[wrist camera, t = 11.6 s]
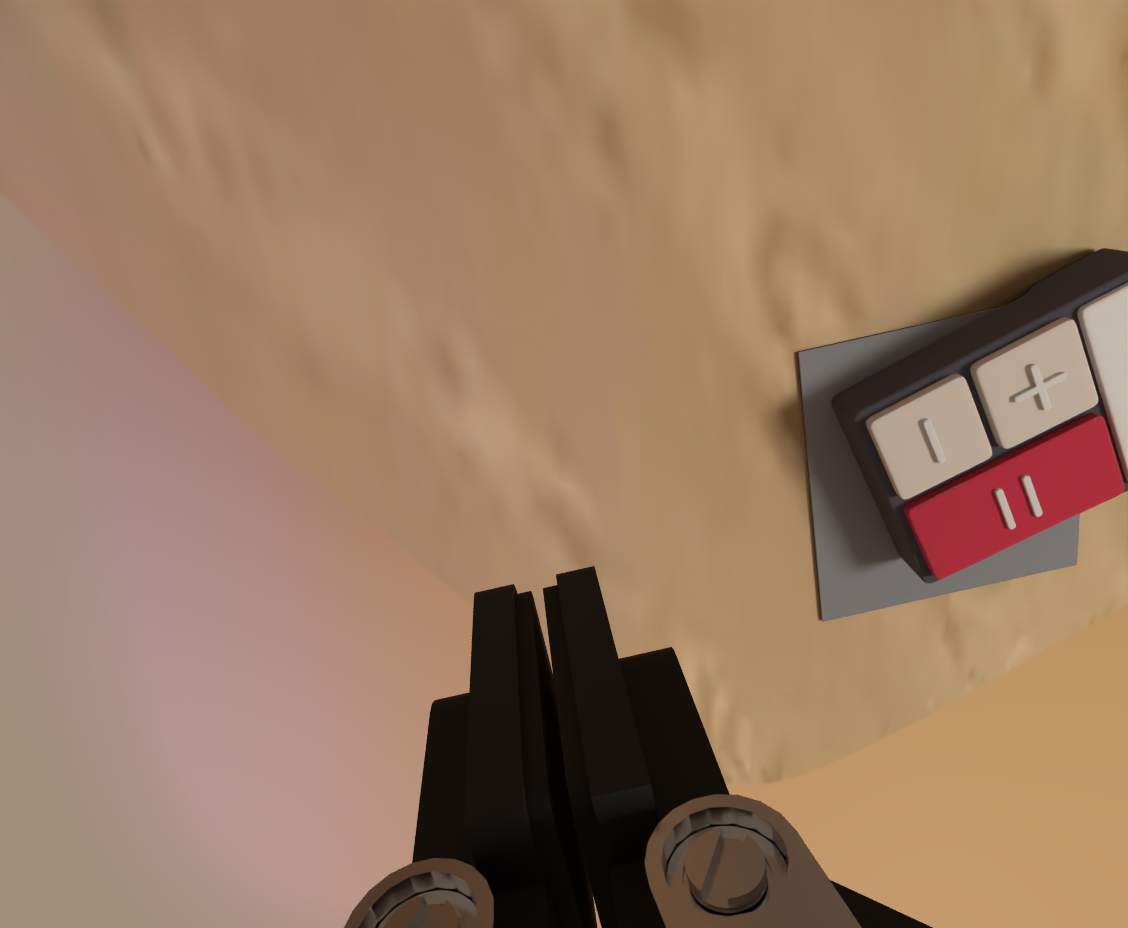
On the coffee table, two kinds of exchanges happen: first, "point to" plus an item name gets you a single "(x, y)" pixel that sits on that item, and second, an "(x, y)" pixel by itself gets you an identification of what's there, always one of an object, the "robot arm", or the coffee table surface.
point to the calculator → (1000, 421)
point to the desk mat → (847, 508)
